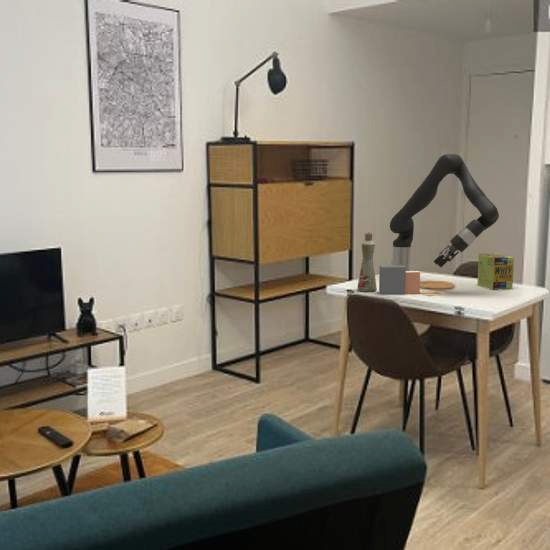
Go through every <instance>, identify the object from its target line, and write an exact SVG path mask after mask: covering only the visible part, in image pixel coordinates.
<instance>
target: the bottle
mask: <svg viewBox="0 0 550 550" xmlns="http://www.w3.org/2000/svg"><path fill="white" fill-rule="evenodd" d="M372 239H373V232H370V231H368V232H365V233H364V240H363V241H362V243H361V250H362V259H361V260H362V261H361V266H360V271H359V276H358V281H357V282H358V283H357V291H359V292H361V293H373V292H376V291H377V290H378V288H377V280H376V275H375V267H374V251H375V247H376V243H375V242H374V241H373V240H372Z"/></svg>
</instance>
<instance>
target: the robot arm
mask: <svg viewBox="0 0 550 550" xmlns="http://www.w3.org/2000/svg"><path fill="white" fill-rule="evenodd" d="M448 175H454V176H455V177H456V178H458V180H459V181H460V183H461V185H462V189H463V193H464V195H465V197H466V198H467V200H468V201H469V202H470V203H471V204H472V205H473V207H474V208H476V210H478V212H479V214H480V216H479V217H478V218H476V219H472V220H471V221H469V222H468V224H467V225H466V226H465V227H463V228H462V229H460V230H459V232H457V234H455V235H454V236H453V237H452V238H451V240H449V241H450V244H451V245H450V244H449V245H447V246H446V247H445V248H444V249H443V250H441V251H440V252H439V254H438V256H437V257H436V258H435V259H434V260H433V263H434V264H435V265H436V266H438V267H440V268H442V267H443V266H444V265H445V264H446V263H449V262H451V261H453V259H455V258H456V256H457V255H459V253H463V252H464V251H465V250H466V249H467V248H469V246H470V245H471V244H472V243H474V241H475V240H476V239H477V238H478V237H479V236H480V235H481V234H482V233H483V232H484V231H485V230H487V229H488V228H491V227H492V226H493V225H494V224H496V222H497V221H498V220H499V218H500V215H499V210H498V208H497V207H496V205H495V204H494V203H493V202H492V201H491V199H489V198H488V197H487V195H486V193H485V192H484V191H483V190H482V188H481V187H480V186H479V185H478V184H477V182H476V181H475V179H474V178H473V176H472V175H471V172H470V171H469V168H468V166H466V164H465V162H464V160H463V158H462V157H461V156H460V155H459V154H456V153H446V154H443V155H441V156H440V157H439V158H438V159H437V160H436V163H435V164H434V165H433V167H432V169H431V171H430V172H429V173H428V175H427V176H426V177H425V178H424V180H423V181H422V182H421V184H420V185H419V186H418V187H417V189H416V190H415V191H414V192H413V194H412V195H411V197H409V199H408V200H407V201H406V202H405V204H404V205H403V206H402V207H401V209H399V210H398V212H396V213H395V214H394V215H393V217H392V218H391V220H390V222H389V229H390V231H391V232H392V233H393V234H397V235H398V236H397V238H395V240H393V241H392V260H391V263H390V265H404V266H405V267H406V271H411V263H412V261H411V260H412V258H411V257H412V253H411V252H412V243H413V240H414V229H415V228H414V227H415V226H414V224H415V223H414V219H413V217H414V216H415V215H416V214H417V215H418V213H420V212H421V211H423V210H424V209H426V208H427V207H428V206H429V205H430V203H432V201H433V200H434V199H435V197H436V196H437V193H438V188H439V185H440V183H441V182H442V181H443V179H444V178H445V177H446V176H448Z"/></svg>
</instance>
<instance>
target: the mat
mask: <svg viewBox="0 0 550 550" xmlns="http://www.w3.org/2000/svg"><path fill="white" fill-rule="evenodd" d="M443 294H444V295H446V293H444V292H439V291H436V290H423V291H422V290H420V294H419V295H422V296H426V297H434V296H435V295H436V296H442V295H443ZM444 295H443V296H444Z"/></svg>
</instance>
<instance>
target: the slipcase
mask: <svg viewBox="0 0 550 550" xmlns="http://www.w3.org/2000/svg"><path fill="white" fill-rule="evenodd" d="M378 275H379V276H378V277H379V279H378V283H379V284H378V292H380V293H379V295H383V296H385V295H387V296H388V295H392V296H395V295H396V296H398V295H401V296H402V295H403V296H405V295H406V294H405V278H406V267H405V266H404V265H391V264H390V265H389V264H388V265H386V264H385V265H384V264H383V265H379V274H378Z"/></svg>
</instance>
